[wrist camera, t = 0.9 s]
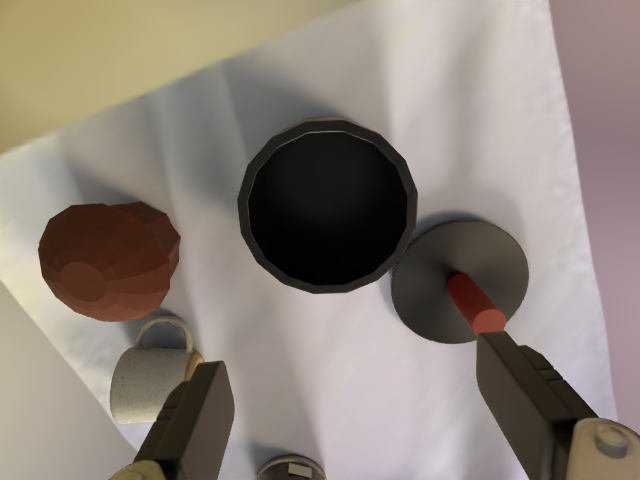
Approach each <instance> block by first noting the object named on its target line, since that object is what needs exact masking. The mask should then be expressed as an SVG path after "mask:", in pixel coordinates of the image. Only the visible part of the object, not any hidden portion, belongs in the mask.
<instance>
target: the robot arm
mask: <svg viewBox="0 0 640 480" xmlns="http://www.w3.org/2000/svg"><path fill="white" fill-rule="evenodd" d="M476 376H477V382H478V387H479V390H480V392H481V395H482V397H483V398H484V400H485V402H486V404H487V405H488V407H489V409H490V411H491V412H492V414H493V416H494V418H495V419H496V421H497V423H498V425H499V427H500V428H501V430H502V432H503V434H504V435H505V437H506V439H507V441H508V442H509V444H510V446H511V448H512V449H513V451H514V453H515V455H516V456H517V458H518V460H519V462H520V463H521V465H522V467H523V469H524V471H525V472H526V474H527V476H528V478H529V479H530V480H640V436H639V435H638V434H637V433H636V432H634V431H633V430H631V429H630V428H628V427H626V426H624V425H622V424H620V423H617V422H615V421H612V420H608V419H603V418H599V417H598V416H597V414H596V413H595V412H594V411H593V410H592V409H591V408H590V407H589V406H588V405H587V403H586V402H585V401H584V400H583V399H582V398H581V397H580V396H579V395H578V394H577V392H576V391H575V390H574V389H573V388H572V387H571V386H570V385H569V384H568V383H567V381H566V380H563V377H562V376H561V375H560V374H559V373H558V372H557V370H556V369H555V370H554V368H553V366H552V365H551V364H550V363H549V362H548V361H547V359H546V358H545V357H544V356H543V355H542V354H540V353H538V352H537V351H535V350H533V349H532V348H530V347H528V346H526V345H522V346H518V345H517V344H516V343H515V342H514V341H513V339H512V338H511V337H510V336H509V335H508V333H507V332H506V331H493V332H484V333H479V334H478V335H477V363H476ZM234 410H235V408H234V399H233V394H232V390H231V386H230V382H229V378H228V374H227V370H226V366H225V363H224V362H223V361H214V362H204V363H199V364H198V365H197V366H196V368H195V370H194V372H193V374H192V376H191V379H190V381H182V382H181V383H180V384H179V385H178V386H177V387H176V388H175V389H174V390H173V391H172V392H171V393H170V394H169V395H168V397H167V399H166V401H165V403H164V405H163V407H162V410H160V412H159V414H158V416H157V418H156V422H154V423H153V425H152V427H151V429H150V431H149V433H148V435H147V437H146V439H145V440H144V442H143V444H142V446H141V448H140V450H139V452H138V454H137V456H136V457H135V459H134V462H133V463H132V464H129V465H128V466H126V467H124V468H122V469H121V470H119V471H118V472H117V473H115V474H114V475H113V476H112V477H111V478H110V479H109V480H217V478H218V474H219V471H220V467H221V464H222V460H223V456H224V453H225V449H226V446H227V442H228V438H229V435H230V431H231V428H232V424H233V420H234ZM257 480H326V477H325V474H324V472H323V470H322V469H321V468H320V466H318V465H317V464H316V463H315V462H313V461H311V460H309V459H307V458H304V457H300V456H281V457H277V458H274V459H272V460H270V461H269V462H267V463H266V464H264V465H263V466H262V468H261V469H260V470H259V472H258V475H257Z"/></svg>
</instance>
